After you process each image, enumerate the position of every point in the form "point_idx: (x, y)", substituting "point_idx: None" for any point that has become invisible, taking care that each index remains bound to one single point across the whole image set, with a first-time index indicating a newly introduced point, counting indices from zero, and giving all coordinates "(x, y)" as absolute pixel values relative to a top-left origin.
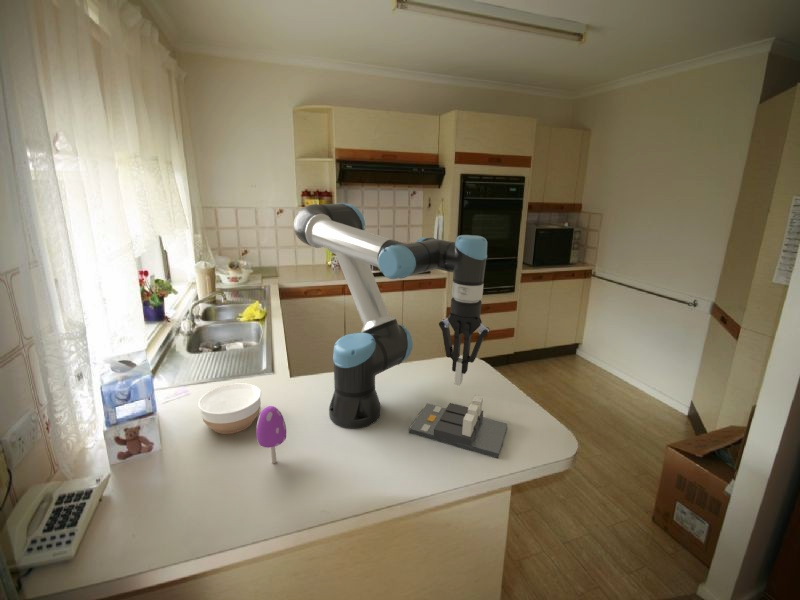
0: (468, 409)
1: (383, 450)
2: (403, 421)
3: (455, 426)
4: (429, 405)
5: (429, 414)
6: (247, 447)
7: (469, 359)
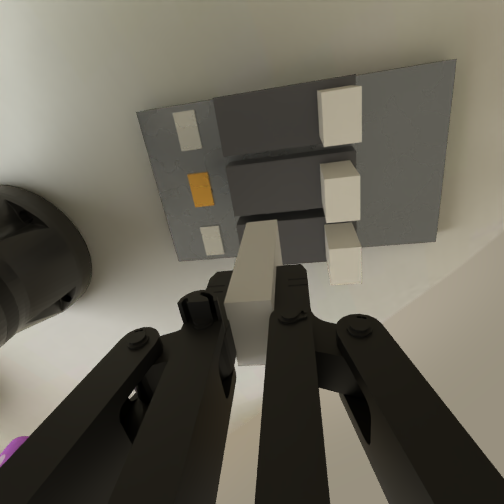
0: (329, 222)
1: (177, 324)
2: (139, 218)
3: (293, 227)
4: (151, 120)
5: (183, 172)
6: (7, 401)
7: (340, 395)
